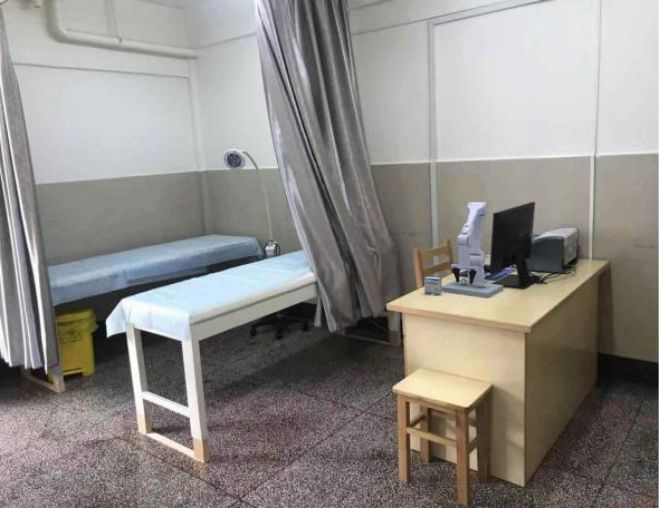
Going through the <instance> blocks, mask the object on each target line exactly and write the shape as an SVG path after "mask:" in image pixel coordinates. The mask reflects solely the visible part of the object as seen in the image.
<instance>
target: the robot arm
mask: <svg viewBox="0 0 659 509" xmlns="http://www.w3.org/2000/svg"><path fill="white" fill-rule="evenodd" d="M466 206H467V207H466V210H467V213H468V215H467V220H466V222H465V223H464V224H463V226H462V228H461V231H460V233H459V235H457V237H456V244H457V250H458V263H452V264H450V268H451V272H452V273H453V276H454V278H455V280H456V282H457V283H458V282H459V280H461V279H460V273H461V270H467V281H470V284H473V282H480V283H486V282H485V281H486V280H485V269H484V266H485V264H486V254H485V252H484V251H483V250H482V249H481V246H482V239H483V228H484V222H485V219H488V215H489V205H488V203H487V202H486V201H484V202H483V201H482V202H480V201H476V202H475V201H474V202H472V201H469V202H468V203H467V205H466Z"/></svg>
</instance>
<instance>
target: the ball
mask: <svg viewBox="0 0 659 509" xmlns="http://www.w3.org/2000/svg"><path fill="white" fill-rule="evenodd" d="M460 280H461V284H462V285H466V284H467V281H468V279H466V278H461V279H460Z"/></svg>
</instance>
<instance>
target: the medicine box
mask: <svg viewBox="0 0 659 509" xmlns="http://www.w3.org/2000/svg"><path fill="white" fill-rule="evenodd" d="M442 279H443V278H442V277H437V276H426V277H424V294H425V295H426V294H435V295H434V296H440V295H441V293H443V292H442V286H443V285H442V281H443V280H442Z"/></svg>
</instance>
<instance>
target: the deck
mask: <svg viewBox="0 0 659 509" xmlns="http://www.w3.org/2000/svg"><path fill="white" fill-rule="evenodd" d="M501 290H502V291H504V285H503V284H497V283H496V284H494V283H486V282H483V283H480V282H473V284H470V281H468V280H467V284H466V285H462V284H461V279H460V280H459V282H458V283H457V282H456V279H455V280H453V281H451V282H448V283H446V284H444V285H442V291H444V292H443V293H447V292H449V294H455V293H456V295H462V294H464V295H463V296H469V295H470V297H476V296H477V298H483V297H485V298H484V299H489V298H491V297H493V296H495V295H496V293H497V294H499V293H500V292H499V291H501ZM502 291H501V292H502ZM498 292H499V293H498ZM494 294H495V295H494ZM492 295H493V296H492Z"/></svg>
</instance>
